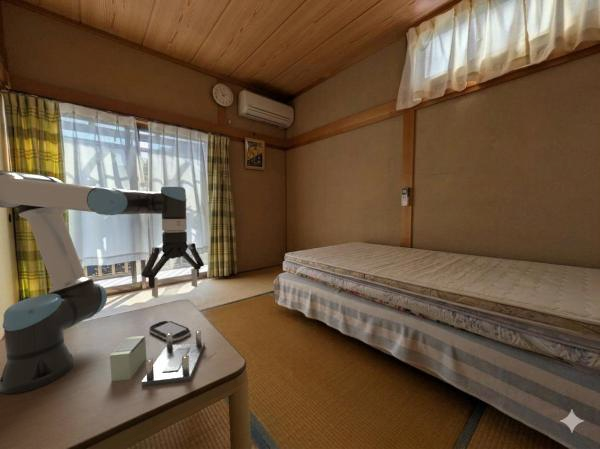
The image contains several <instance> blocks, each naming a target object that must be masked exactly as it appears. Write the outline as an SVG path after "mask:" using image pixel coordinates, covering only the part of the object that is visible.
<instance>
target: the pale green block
mask: <svg viewBox="0 0 600 449" xmlns="http://www.w3.org/2000/svg"><path fill="white" fill-rule="evenodd" d="M146 346H147V344H146V336H145V335H140V336H139V335H138V336H128V337H127V338H126V339H124V341H122V343H121V344H120V345H119V346H117V347H116V348H115V350H113V351H112V353H110V355H109V360H110V361H109V363H110V375H111V379H110V380H111V382H117V381H126V380H131V379H132V377H133V376H134V375H135V374H136V372H137V371H138V370H139V369H140V367H141V366H142V365H143V363H144V362H146V360H147V347H146Z"/></svg>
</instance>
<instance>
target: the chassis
mask: <svg viewBox="0 0 600 449" xmlns="http://www.w3.org/2000/svg"><path fill="white" fill-rule="evenodd" d="M165 341H166V346H165V347H164V349H163V350H162V352H161V353H160V354H159V356H158V357H157V359H156V360H155V362H154V359H153V358H149V359H146V360H145V371H146V373H145V374H146V375H145V377H143V379H142V380H141V387H151V386H159V385H167V384H169V385H170V384H176V383H185V382H191V381H192V378H193V375H194V373H195V370H196V368H197V366H198V363H199V360H200V358H201V357H202V354H203V351H204V349H205V344H206V343H205V341H203V340H202V330H196V331H195V342H194V343H193V342H192V343H183V344H182V343H181V344H173V342H172V333H168V334H166V340H165Z"/></svg>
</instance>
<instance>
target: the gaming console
mask: <svg viewBox="0 0 600 449" xmlns="http://www.w3.org/2000/svg"><path fill="white" fill-rule="evenodd" d="M148 331H149V333H151V334H153V336H156V337H158V338H161V339H162V340H164V341H166V334H168V333H172V343H176V342H180V341H182V340H184V339H185V338H187V337H189V335H191V330H190V329H189V327H187V326H185V325H182V324H179V323H177V322H174V321H172V320H170V321H168V320H162V321H159V322H157V323H154V324H152V325H151V326H150V327H149V328H148Z"/></svg>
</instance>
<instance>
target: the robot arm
mask: <svg viewBox="0 0 600 449" xmlns="http://www.w3.org/2000/svg"><path fill="white" fill-rule="evenodd" d="M186 193H187V192H186V188H185V187H183V186H178V185H177V186H176V185H163V186H161V187H160V191H141V190H130V189H122V188H114V187H107V186H106V187H103V186H102V187H101V186H93V185H83V184H75V183H66V182H65V183H64V182H63V181H61V180H60V179H58V178H56V177H53V176H48V175H44V174H34V173H27V172H26V173H25V172H17V171H11V170H2V169H1V170H0V208H1V209H2V208H5V209H7V208H8V209H16V212H17V214H18V216H19V217H20V218H22V219H26V220H27V221H28V222H27V223H28V224H29V226H30V230H31V232H32V234H33V237H34V241H35V242H36V245H37V248H38V250H39V253H40V256H41V258H42V260H43V261H42V262H43V263H44V266H45V268H46V271H47V274H48V276H49V279H50V282H51V284H52V286H51V288H50V289H49V291H48V293H45V294H40V295H36V296H34V297H33V296H32V297H28V298H26V299H22V300H20V301H19V302H16V303H14V304H11V306H9V307H8V308H7V309H5V311H4V313H3V322H2V328H3V331H4V343H5V344H4V345H5V352H6V353H5V354H6V363H5V364H4V368H3V370H2V374H1V377H0V393H1V392H2V393H1V394H4V393H5V394H6V395H13V394H20V393H21V394H22V393H25V392H28V391H32V390H34V389H35V390H36V389H39V388H40V387H43V386H45V385H47V384H49V383H52V382H54V381H56V380H58V379H59V378H61V377H62V376H64V375H66V374H67V373H68V372H69V371H70V370H71V369H72V368H73V366H74V357H73V354H72V353H71V352H70V351H69V348H68V346H67V345H66V342H65V337H64V331H66V330H67V329H70V328H71V327H73V326H75V325H77V324H79V323H81V322H83V321H85V320H88V319H91V318H93V317H94V316H95V315H97V314H98V313H100V312H101V311H102V310H103V309H104V307H105V306H106V304H107V300H108V294H107V293H108V292H107V291H106V289H105V287H103V286H102V285H101V284H99V283H97V282H96V283H95V282H94V280H93V278H92V277H89V276H86V273H85V271H84V269H83V266H82V263H81V261H80V258H79V255H78V253H77V250H76V247H75V244H74V242H73V240H72V237H71V233H70V231H69V228H68V226H67V223H66V220H65V218H64V213H65V211H66V210H70V211H71V210H72V211H78V212H79V211H81V212H89V213H96V214H98V215H104V216H116V215H143V214H144V215H149V214H150V215H151V214H152V215H153V214H154V215H157V214H158V215H161V229H162V231H163V232H162V233H161V237H162V238H161V239H162V240H161V241H162V246H161V247H158V246H152V248H151V255H150V256H149V258H148V260H147V262H146V264H145V267H144V268H143V270H142V272H141V276H142V277H144V278H146V279H147V278H148V288H150V289H151V296H152V297H153V298H155V299H156V298H159V282H158V277H157V275H158V274H159V273H160V271H161V270H162V268H163V267H164V266H165V264H167V262H168V261H169V260H170V259H176V258H177V259H178V258H183V259H184V260H186V262H188V264H190V266H192V268H191V269H190V270H191V274H190V275H191V277H190V278H191V287H194V288H197V287H198V278H199V276H200V270H201V269H202V267H204V266H205V263H204V261H203V259H202V257H201V255H200V254H199V252H198V249H197V247H196V246H197V245H196V243H194V242H189V243H188V236H187V235H188V234H187V224H188V223H187V201H188V200H187V194H186ZM187 250H189V251H190V253H191V255H192V256H190V255H189V253H188V252H187ZM161 252H163V253H162V255H161V256H160V259H159V260H158V258H159V255H160V254H161ZM193 258H194V259H193ZM157 260H158V261H157Z"/></svg>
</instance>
